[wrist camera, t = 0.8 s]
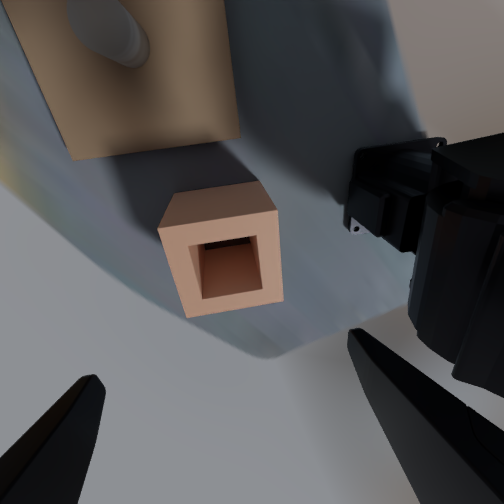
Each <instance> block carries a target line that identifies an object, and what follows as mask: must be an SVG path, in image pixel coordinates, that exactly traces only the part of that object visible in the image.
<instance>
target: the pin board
mask: <svg viewBox="0 0 504 504" xmlns="http://www.w3.org/2000/svg"><path fill="white" fill-rule="evenodd" d="M1 1H2V3H3V5H4V7H5V10H6V12H7V14H8V16H9V19H10V21H11V23H12V25H13V28H14V30H15V32H16V34H17V37H18V39H19V41H20V43H21V45H22V48H23V50H24V52H25V54H26V57H27V59H28V61H29V63H30V66H31V68H32V70H33V72H34V75H35V77H36V79H37V81H38V84H39V86H40V88H41V90H42V93H43V95H44V97H45V99H46V101H47V104H48V106H49V108H50V110H51V113H52V115H53V117H54V119H55V122H56V124H57V126H58V128H59V131H60V133H61V135H62V137H63V140H64V142H65V144H66V146H67V148H68V151H69V153H70V155H71V157H72V160H73V161H77V160H85V159H92V158H99V157H106V156H114V155H121V154H128V153H135V152H143V151H150V150H157V149H164V148H171V147H179V146H186V145H193V144H200V143H208V142H215V141H222V140H229V139H237V138H241V134H240V126H239V118H238V110H237V102H236V94H235V86H234V77H233V69H232V61H231V53H230V45H229V37H228V29H227V21H226V13H225V5H224V0H1Z"/></svg>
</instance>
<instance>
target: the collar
mask: <svg viewBox="0 0 504 504" xmlns="http://www.w3.org/2000/svg"><path fill="white" fill-rule="evenodd" d="M157 229H158V232H159V235H160V238H161V241H162V244H163V247H164V250H165V253H166V256H167V260H168V263H169V266H170V269H171V272H172V275H173V278H174V281H175V284H176V287H177V290H178V293H179V296H180V299H181V302H182V305H183V308H184V311H185V314H186V317H187V318H190V317H196V316H201V315H207V314H213V313H218V312H224V311H230V310H236V309H241V308H247V307H253V306H259V305H264V304H270V303H276V302H282V301H284V300H283V285H282V269H281V254H280V239H279V224H278V210H277V208H276V207H275V205H274V203H273V202H272V200H271V199H270V197H269V195H268V194H267V192H266V190H265V189H264V187H263V186H262V184H261V182H260V181H253V182H246V183H240V184H233V185H226V186H219V187H213V188H206V189H199V190H192V191H185V192H179V193H174V194H173V197H172V199H171V201H170V203H169V205H168V207H167V209H166V211H165V213H164V216H163V218H162V220H161V222H160V224H159V226H158V228H157ZM248 236H250V243H247V244H241V245H235V246H228V247H222V248H216V249H210V250H205V246H204V243H210V242H216V241H223V240H229V239H235V238H241V237H248Z"/></svg>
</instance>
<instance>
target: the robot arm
mask: <svg viewBox="0 0 504 504" xmlns="http://www.w3.org/2000/svg"><path fill="white" fill-rule="evenodd" d="M438 143H439V146H438V147H436V146H437V144H438ZM362 153H364V154H365V155H364V157H363V159H361V158H360V156H361V154H362ZM347 213H348V215H349V223H348V230H349V232H351V233H352V234H354V235H357V234H363V233H369V232H371V233H372V234H373V235H375V236H376V237H382V238H383V239H384V240H386V241H387V242H388V243H390V244H391V245H392V246H393V247H395V248H396V249H397V250H399V251H400V252H403V253H404V252H412V253H413V254H415V255H416V257H415V263H414V269H413V275H412V279H411V280H410V285H409V287H410V292H409V298H408V315H409V317H410V319H411V321H412V323H413V325H414V327H415V329H416V330H417V336H418V338H419V339H420V340H421V341H422V342H423V343H424V344H425V345H426V346H427V347H429V348H430V349H431V350H432V351H434V352H435V353H437V354H438V355H440V356H441V357H443V358H444V359H446V360H447V361H449V362H451V363H453V364H455V365H454V368H453V371H452V373H451V374H452V376H453V378H454V379H456V380H459V381H462V382H465V383H468V384H471V385H475V386H478V387H481V388H484V389H486V390H488V391H490V392H492V393H494V394H497V395H499V396H501V397H503V398H504V133H499V134H495V135H490V136H486V137H481V138H477V139H472V140H468V141H463V142H458V143H454V144H449V145H447V140H446V139H445V138H442V137H434V138H427V139H420V140H413V141H406V142H399V143H392V144H385V145H378V146H371V147H364V148H360V149H358V150H357V151H356V153H355V155H354V164H353V176H352V180H351V182H350V185H349V198H348V210H347ZM356 226H357V228H356V229H355V230H353V229H354V227H356ZM347 347H348V351H349V354H350V356H351V359H352V362H353V364H354V367H355V370H356V372H357V375H358V377H359V380H360V383H361V385H362V388H363V390H364V393H365V395H366V397H367V399H368V401H369V403H370V405H371V407H372V409H373V411H374V413H375V415H376V417H377V419H378V421H379V423H380V425H381V427H382V429H383V431H384V433H385V435H386V437H387V439H388V441H389V443H390V445H391V446H392V449H393V451H394V453H395V454H396V457H397V458H398V460H399V462H400V464H401V466H402V468H403V470H404V472H405V474H406V476H407V478H408V480H409V482H410V484H411V486H412V488H413V490H414V492H415V494H416V496H417V498H418V500H419V502H420V504H504V431H503V430H501V429H500V428H498V427H497V426H496V425H494V424H493V423H491V422H490V421H489V420H487V419H486V418H484V417H483V416H481V415H480V414H479V413H477V412H476V411H475V410H473V409H472V408H470V407H469V406H466V404H465V403H463V402H462V401H461V400H459V399H458V398H457V397H455V396H454V395H452V394H451V393H450V392H448V391H447V390H446V389H444V388H443V387H441V386H440V385H439V384H437V383H436V382H435V381H433V380H432V379H430V378H429V377H428V376H426V375H425V374H424V373H422V372H421V371H419V370H418V369H417V368H415V367H414V366H413V365H411V364H410V363H409V362H407V361H406V360H404V359H403V358H402V357H400V356H399V355H397V354H396V353H394V352H393V351H392V350H390V349H389V348H388V347H387V346H385V345H384V344H382V343H381V342H380V341H378V340H377V339H376V338H374V337H373V336H371V335H370V334H369V333H367V332H366V331H365V330H363V329H361V328H355V329H350V330H349V332H348V342H347ZM105 395H106V390H105V387H104V385H103V384H102V382H101V381H100V379H99V378H98V377H97V375H95V374H92V375H86V376H82V377H81V378H80V379H78V380H77V381H76V382H75V383H74V384H73V386H71V387H70V389H68V390H67V392H66V393H64V395H62V396H61V398H60V399H58V400H57V401H56V402H55V404H54V405H52V406H51V407H50V408H49V410H47V411H46V412H45V413H44V414H43V415H42V416H41V417H40V418H39V420H37V421H36V422H35V424H34V425H32V426H31V427H30V428H29V429H28V430H27V431H26V432H25V433H24V434H23V435H22V436H21V437H20V438H19V439H18V440H17V441H16V442H15V443H14V444H13V445H12V446H11V447H10V448H9V449H8V450H7V451H6V452H5V453H4V454H3V455H2V456H1V457H0V504H78V500H79V497H80V494H81V491H82V487H83V484H84V481H85V477H86V474H87V471H88V467H89V464H90V461H91V457H92V454H93V451H94V447H95V443H96V439H97V435H98V430H99V425H100V420H101V415H102V410H103V405H104V400H105Z"/></svg>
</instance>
